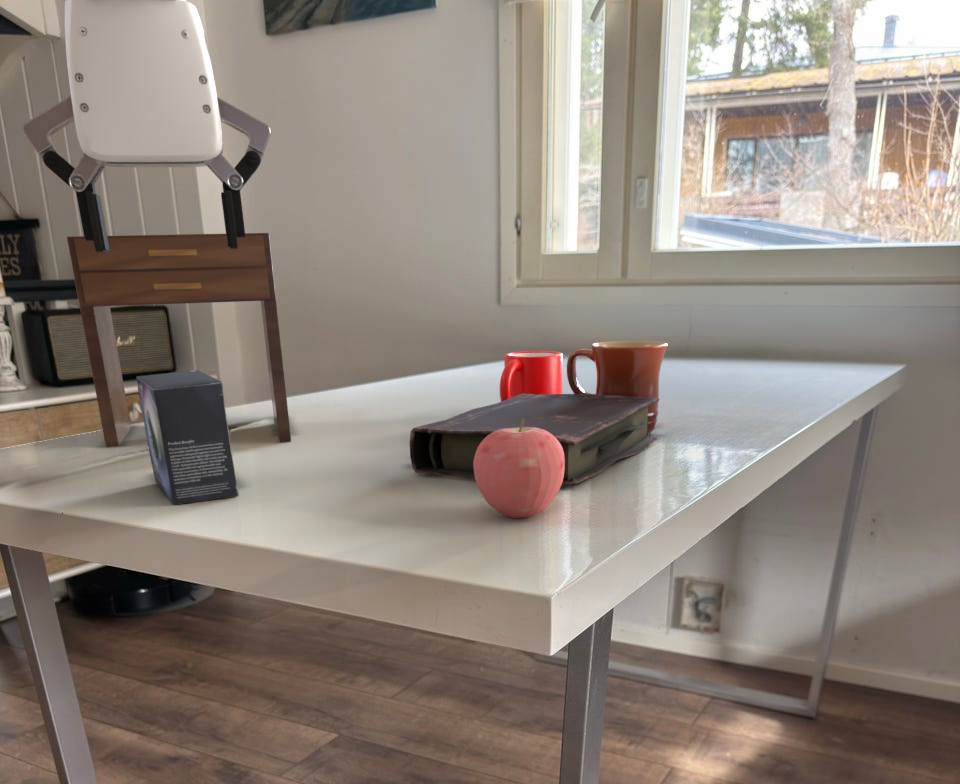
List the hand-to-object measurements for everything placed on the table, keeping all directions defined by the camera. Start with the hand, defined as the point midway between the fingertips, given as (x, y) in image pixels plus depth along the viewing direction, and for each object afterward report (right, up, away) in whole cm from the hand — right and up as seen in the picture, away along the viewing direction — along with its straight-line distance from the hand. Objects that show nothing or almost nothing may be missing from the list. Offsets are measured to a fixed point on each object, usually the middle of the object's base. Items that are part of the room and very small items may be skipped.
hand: (169, 250), depth 69 cm
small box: (-3, -16, +17) cm, 24 cm away
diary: (+31, -11, +27) cm, 42 cm away
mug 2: (+40, -5, +40) cm, 57 cm away
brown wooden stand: (-11, -5, +43) cm, 44 cm away
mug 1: (+30, 0, +53) cm, 61 cm away
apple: (+27, -20, +6) cm, 34 cm away
